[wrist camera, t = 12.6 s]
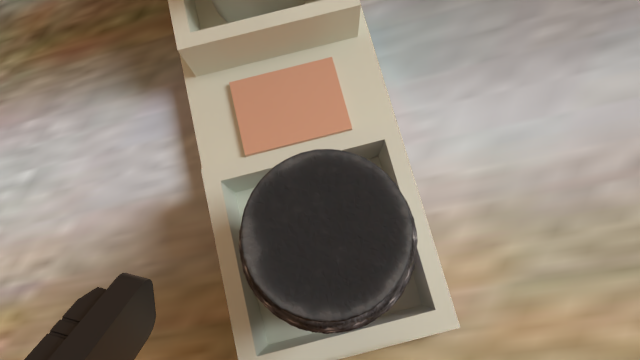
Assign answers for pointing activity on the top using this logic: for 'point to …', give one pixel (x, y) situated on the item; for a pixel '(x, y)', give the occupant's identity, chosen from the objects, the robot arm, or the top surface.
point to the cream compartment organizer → (296, 148)
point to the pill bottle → (327, 241)
